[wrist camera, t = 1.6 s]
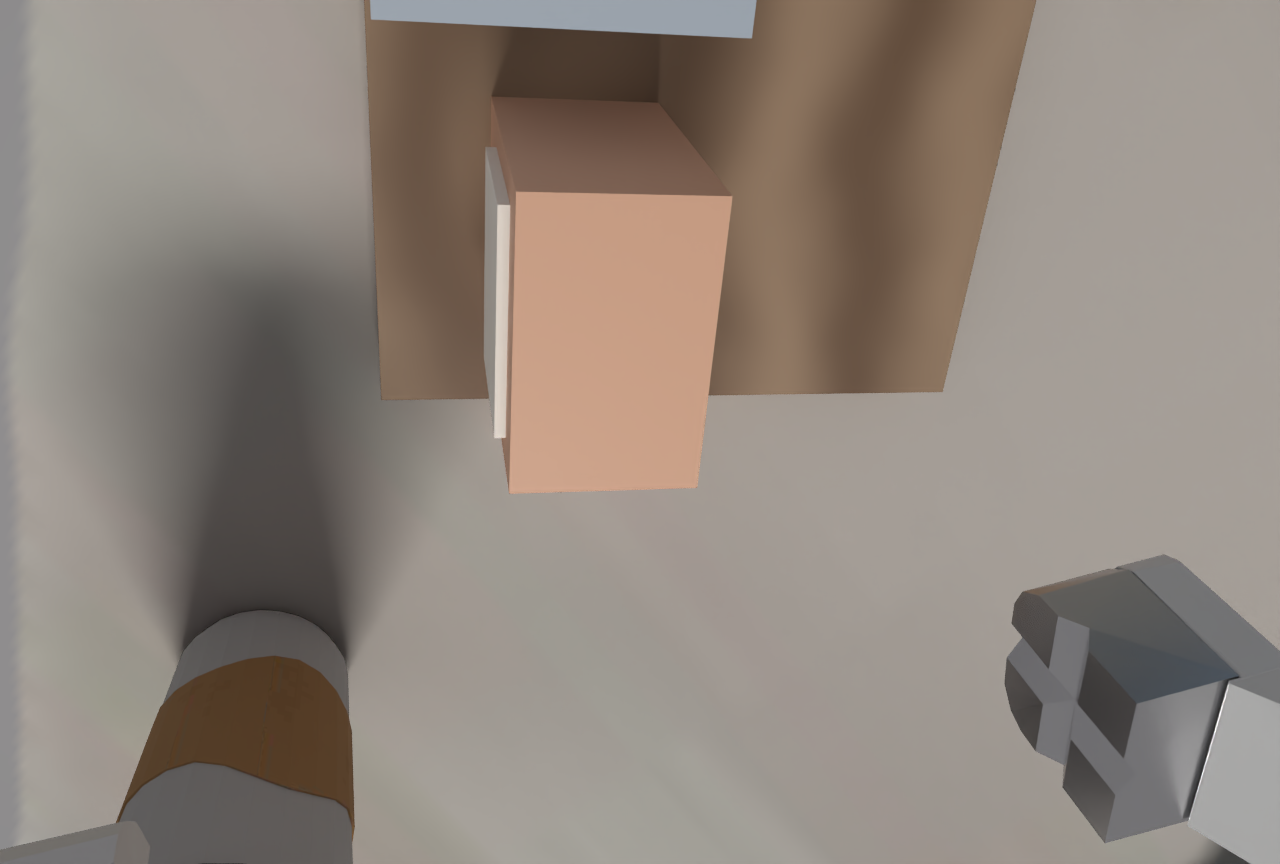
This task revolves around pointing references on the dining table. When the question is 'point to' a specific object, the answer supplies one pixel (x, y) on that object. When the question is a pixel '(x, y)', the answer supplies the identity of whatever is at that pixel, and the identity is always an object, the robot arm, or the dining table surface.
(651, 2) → the slate-blue carton
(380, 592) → the dining table surface
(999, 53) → the shelf plank
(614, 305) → the terracotta carton
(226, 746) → the coffee cup
